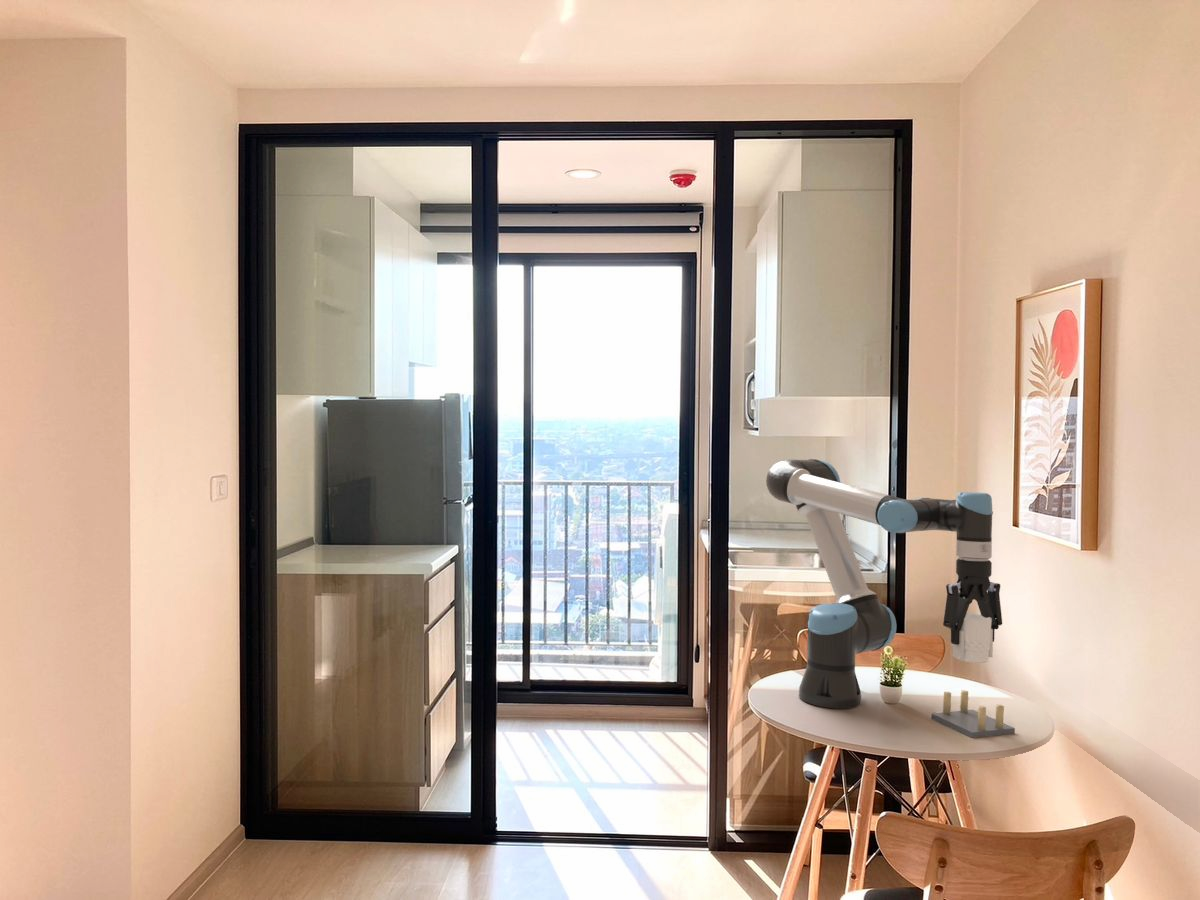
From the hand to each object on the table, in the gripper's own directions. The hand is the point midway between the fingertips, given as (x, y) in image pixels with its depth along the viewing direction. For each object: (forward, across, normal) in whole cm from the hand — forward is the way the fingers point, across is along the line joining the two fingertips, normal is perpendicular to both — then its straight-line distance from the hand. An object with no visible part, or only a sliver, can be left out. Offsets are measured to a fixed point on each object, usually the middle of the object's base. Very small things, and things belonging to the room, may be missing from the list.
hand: (972, 656), depth 193 cm
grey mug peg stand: (+16, 0, 0) cm, 16 cm away
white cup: (+1, 0, 0) cm, 1 cm away
